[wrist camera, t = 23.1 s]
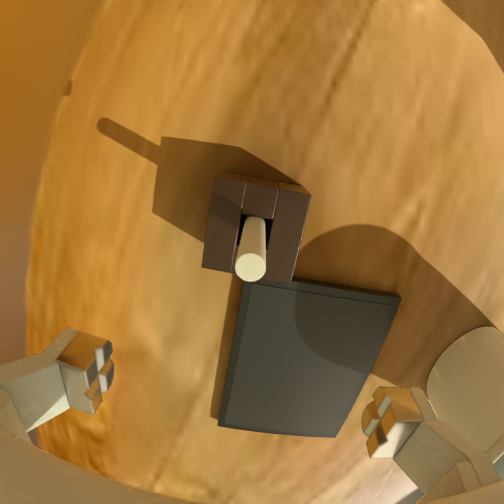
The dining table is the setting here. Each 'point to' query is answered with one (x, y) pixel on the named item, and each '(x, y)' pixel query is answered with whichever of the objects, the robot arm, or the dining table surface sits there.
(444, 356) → the utensil holder
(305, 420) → the tablet
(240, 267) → the stylus
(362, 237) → the dining table surface
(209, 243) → the pen stand
